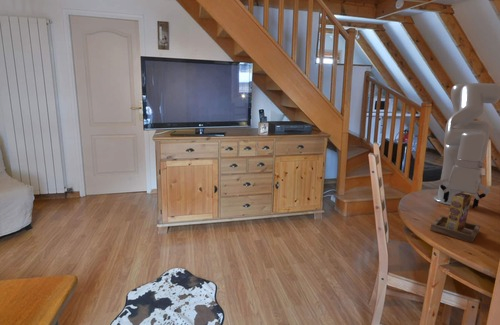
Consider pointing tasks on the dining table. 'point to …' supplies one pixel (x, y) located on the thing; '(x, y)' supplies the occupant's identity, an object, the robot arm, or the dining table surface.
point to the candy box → (458, 211)
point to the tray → (464, 234)
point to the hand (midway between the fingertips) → (459, 204)
